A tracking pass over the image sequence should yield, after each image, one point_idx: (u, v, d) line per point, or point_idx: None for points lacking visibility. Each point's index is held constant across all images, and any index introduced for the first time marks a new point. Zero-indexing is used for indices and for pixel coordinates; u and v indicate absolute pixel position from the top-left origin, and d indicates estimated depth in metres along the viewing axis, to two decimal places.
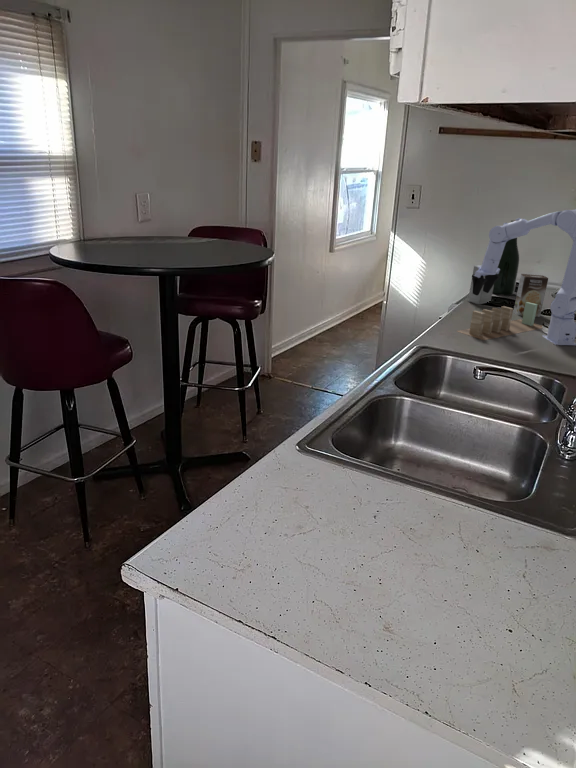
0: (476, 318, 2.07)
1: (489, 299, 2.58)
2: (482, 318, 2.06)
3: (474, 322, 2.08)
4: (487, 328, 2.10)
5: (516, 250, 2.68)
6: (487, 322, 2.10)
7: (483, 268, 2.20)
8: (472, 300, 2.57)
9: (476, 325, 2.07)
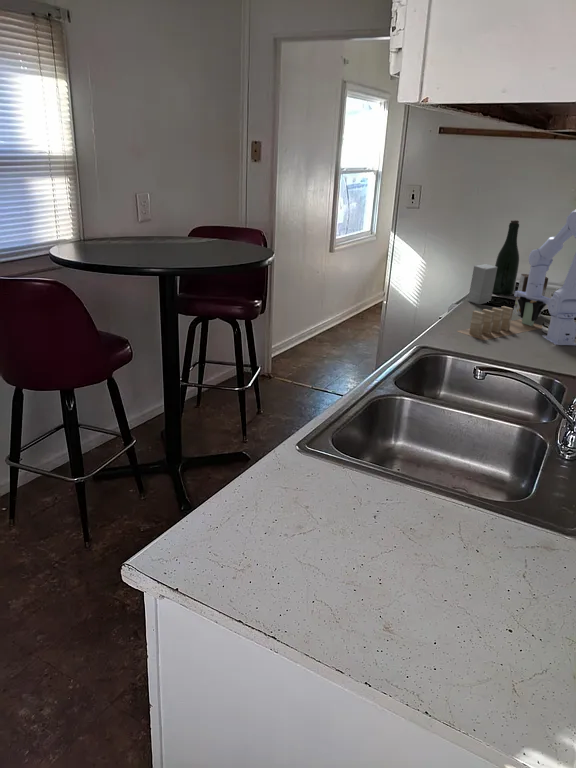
0: (476, 318, 2.07)
1: (489, 299, 2.58)
2: (482, 318, 2.06)
3: (474, 322, 2.08)
4: (487, 328, 2.10)
5: (516, 250, 2.68)
6: (487, 322, 2.10)
7: None
8: (472, 300, 2.57)
9: (476, 325, 2.07)
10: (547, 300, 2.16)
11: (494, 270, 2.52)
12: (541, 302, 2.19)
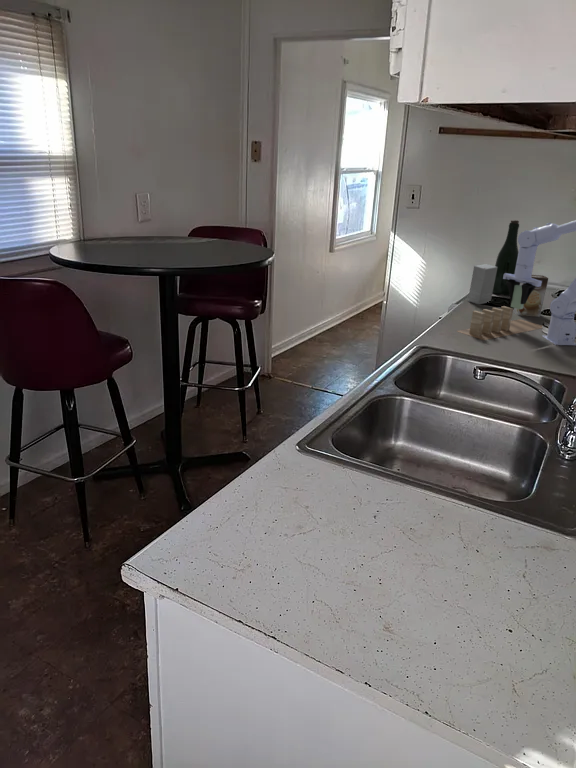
0: (476, 318, 2.07)
1: (489, 299, 2.58)
2: (482, 318, 2.06)
3: (474, 322, 2.08)
4: (487, 328, 2.10)
5: (516, 250, 2.68)
6: (487, 322, 2.10)
7: None
8: (472, 300, 2.57)
9: (476, 325, 2.07)
10: (536, 282, 2.09)
11: (494, 270, 2.52)
12: (530, 284, 2.11)
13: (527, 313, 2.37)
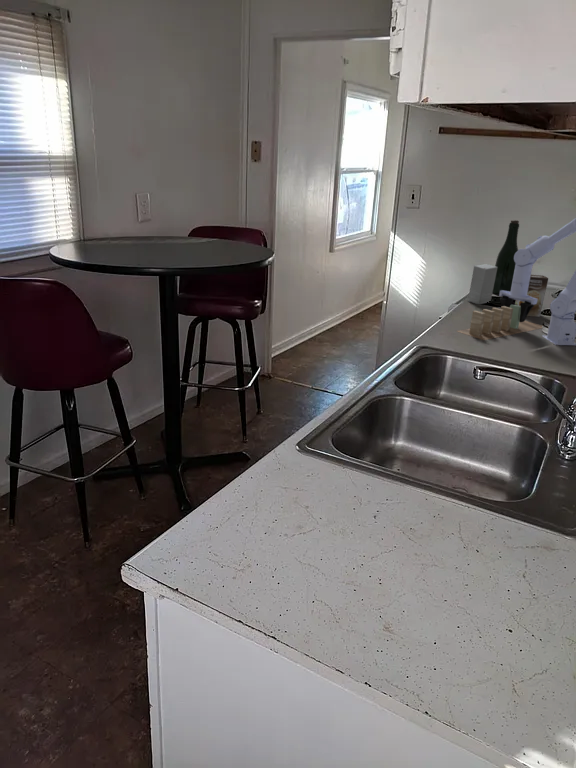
0: (476, 318, 2.07)
1: (489, 299, 2.58)
2: (482, 318, 2.06)
3: (474, 322, 2.08)
4: (487, 328, 2.10)
5: (516, 250, 2.68)
6: (487, 322, 2.10)
7: None
8: (472, 300, 2.57)
9: (476, 325, 2.07)
10: (532, 300, 2.11)
11: (494, 270, 2.52)
12: (526, 302, 2.13)
13: None
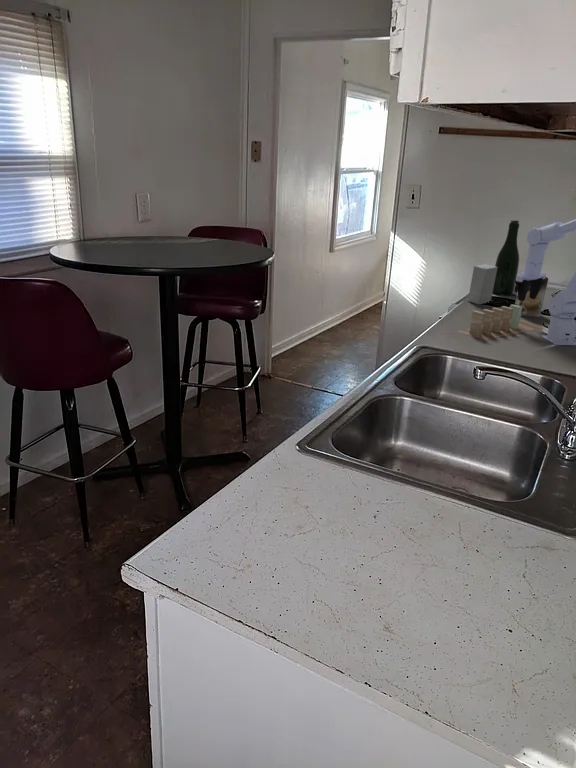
0: (476, 318, 2.07)
1: (489, 299, 2.58)
2: (482, 318, 2.06)
3: (474, 322, 2.08)
4: (487, 328, 2.10)
5: (516, 250, 2.68)
6: (487, 322, 2.10)
7: (525, 273, 2.16)
8: (472, 300, 2.57)
9: (476, 325, 2.07)
10: (544, 275, 2.20)
11: (494, 270, 2.52)
12: (540, 279, 2.19)
13: (527, 313, 2.37)
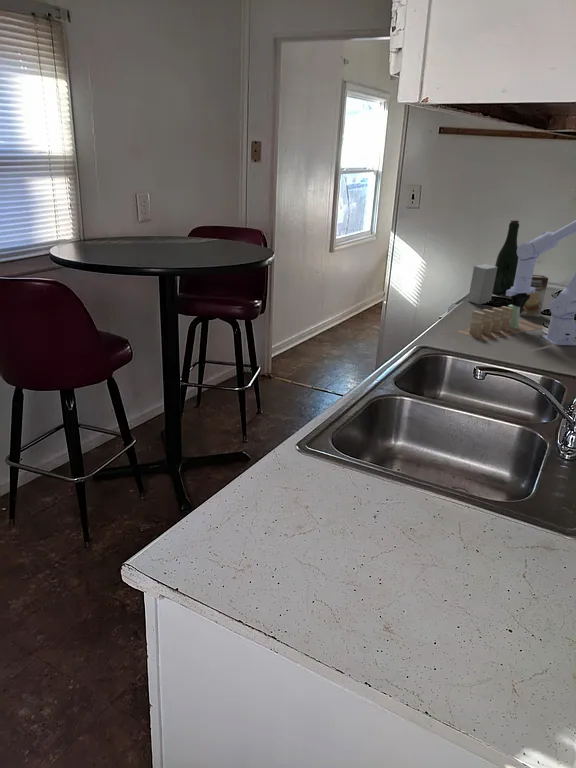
0: (476, 318, 2.07)
1: (489, 299, 2.58)
2: (482, 318, 2.06)
3: (474, 322, 2.08)
4: (487, 328, 2.10)
5: (516, 250, 2.68)
6: (487, 322, 2.10)
7: (515, 287, 2.15)
8: (472, 300, 2.57)
9: (476, 325, 2.07)
10: (534, 289, 2.19)
11: (494, 270, 2.52)
12: None
13: (527, 313, 2.37)
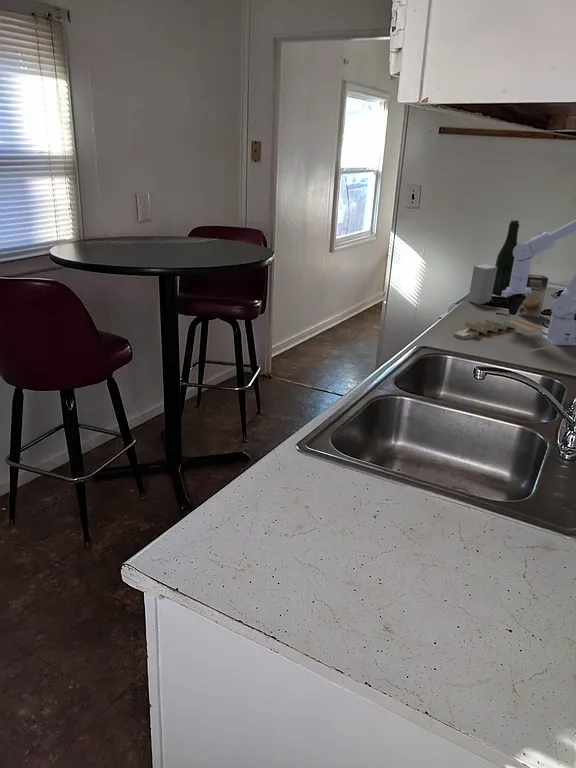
0: None
1: (489, 299, 2.58)
2: (466, 338, 2.04)
3: None
4: (481, 332, 2.09)
5: None
6: None
7: (511, 288, 2.14)
8: (472, 300, 2.57)
9: None
10: (530, 289, 2.18)
11: (494, 270, 2.52)
12: (525, 293, 2.17)
13: (527, 313, 2.37)
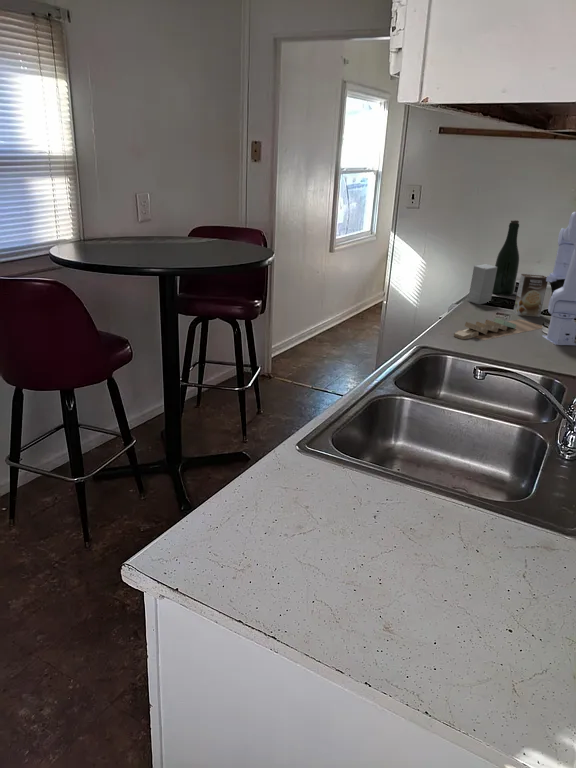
0: None
1: (489, 299, 2.58)
2: (466, 338, 2.04)
3: None
4: (481, 332, 2.09)
5: (516, 250, 2.68)
6: None
7: (555, 273, 2.18)
8: (472, 300, 2.57)
9: None
10: None
11: (494, 270, 2.52)
12: None
13: (527, 313, 2.37)
